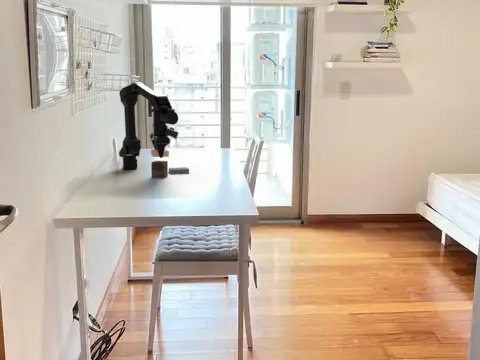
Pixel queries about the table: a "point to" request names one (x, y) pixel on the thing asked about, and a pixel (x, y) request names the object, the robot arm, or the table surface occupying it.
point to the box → (159, 169)
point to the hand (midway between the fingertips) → (159, 156)
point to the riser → (178, 170)
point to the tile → (155, 154)
